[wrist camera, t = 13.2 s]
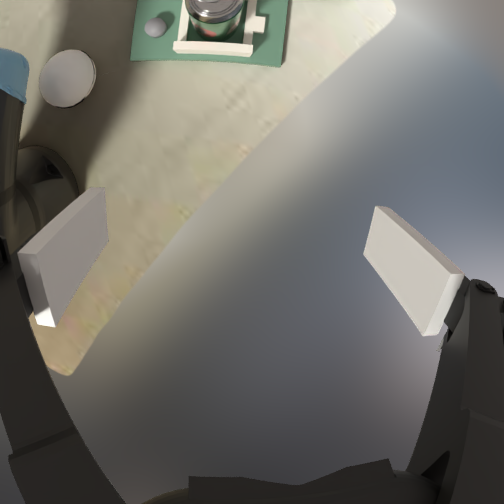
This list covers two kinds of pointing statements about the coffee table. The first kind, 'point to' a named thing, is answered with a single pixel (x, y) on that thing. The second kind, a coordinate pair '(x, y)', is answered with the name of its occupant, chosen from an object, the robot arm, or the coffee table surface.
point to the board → (196, 49)
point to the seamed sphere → (67, 78)
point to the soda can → (215, 18)
